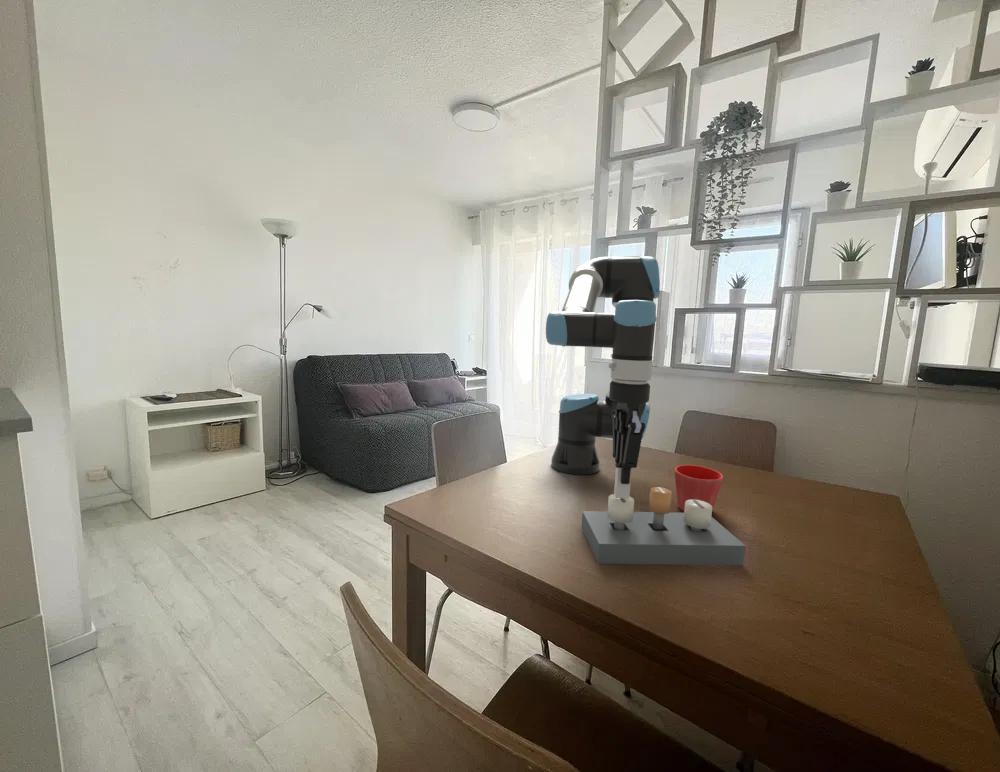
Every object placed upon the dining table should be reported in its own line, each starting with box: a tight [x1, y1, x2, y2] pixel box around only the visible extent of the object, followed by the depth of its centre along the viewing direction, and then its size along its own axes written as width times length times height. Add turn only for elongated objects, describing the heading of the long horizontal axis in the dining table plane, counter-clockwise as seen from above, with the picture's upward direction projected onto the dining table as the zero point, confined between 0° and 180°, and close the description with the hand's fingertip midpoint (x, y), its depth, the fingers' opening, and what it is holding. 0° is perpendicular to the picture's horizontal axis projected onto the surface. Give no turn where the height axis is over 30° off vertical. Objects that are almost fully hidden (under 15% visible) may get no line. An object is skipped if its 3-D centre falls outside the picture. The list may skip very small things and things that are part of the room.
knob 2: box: [683, 500, 713, 531], centre depth 86 cm, size 5×5×8 cm
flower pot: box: [674, 464, 724, 512], centre depth 104 cm, size 11×11×10 cm
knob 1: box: [607, 493, 635, 530], centre depth 86 cm, size 5×5×8 cm
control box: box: [581, 510, 746, 566], centre depth 86 cm, size 14×28×4 cm, turn 92°
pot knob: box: [648, 486, 673, 529], centre depth 86 cm, size 4×4×8 cm
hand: (621, 496), depth 85 cm, fingers closed
